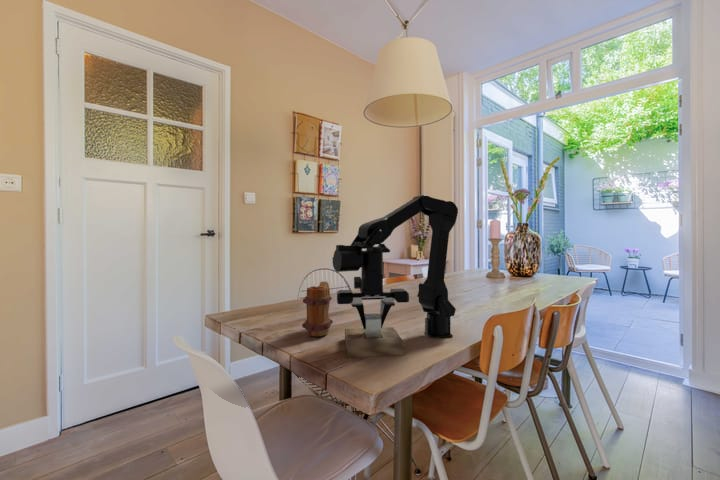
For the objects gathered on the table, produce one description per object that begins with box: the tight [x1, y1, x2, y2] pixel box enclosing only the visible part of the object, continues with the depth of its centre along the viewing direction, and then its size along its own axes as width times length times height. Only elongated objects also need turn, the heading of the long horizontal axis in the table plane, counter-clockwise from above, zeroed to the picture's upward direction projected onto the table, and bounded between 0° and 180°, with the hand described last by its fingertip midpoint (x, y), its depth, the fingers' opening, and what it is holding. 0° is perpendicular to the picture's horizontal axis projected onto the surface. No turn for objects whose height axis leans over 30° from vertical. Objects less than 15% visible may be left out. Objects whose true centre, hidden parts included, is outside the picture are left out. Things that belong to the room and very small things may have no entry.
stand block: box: [344, 326, 406, 358], centre depth 87 cm, size 14×14×4 cm
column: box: [364, 312, 381, 339], centre depth 87 cm, size 4×4×8 cm
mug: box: [301, 281, 334, 338], centre depth 100 cm, size 15×8×15 cm, turn 168°
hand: (372, 328), depth 87 cm, fingers closed on column, 4 cm apart
